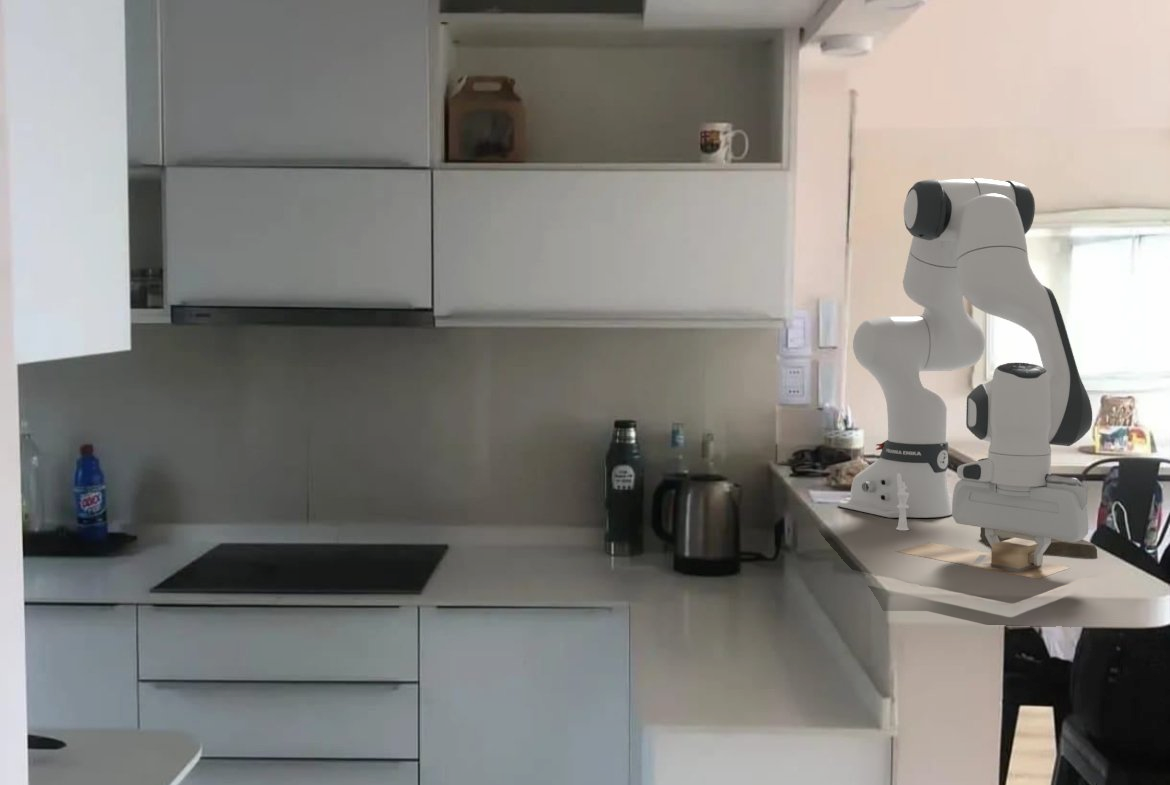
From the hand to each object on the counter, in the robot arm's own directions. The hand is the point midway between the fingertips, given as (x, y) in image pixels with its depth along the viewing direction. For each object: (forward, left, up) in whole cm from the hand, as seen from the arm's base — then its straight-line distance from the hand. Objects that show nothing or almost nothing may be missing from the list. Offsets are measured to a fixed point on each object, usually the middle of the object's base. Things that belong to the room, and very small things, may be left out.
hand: (1016, 561), depth 167 cm
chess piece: (-27, +11, -2) cm, 29 cm away
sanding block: (0, 0, -1) cm, 1 cm away
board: (-6, 0, -2) cm, 6 cm away
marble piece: (-5, +15, -3) cm, 16 cm away
